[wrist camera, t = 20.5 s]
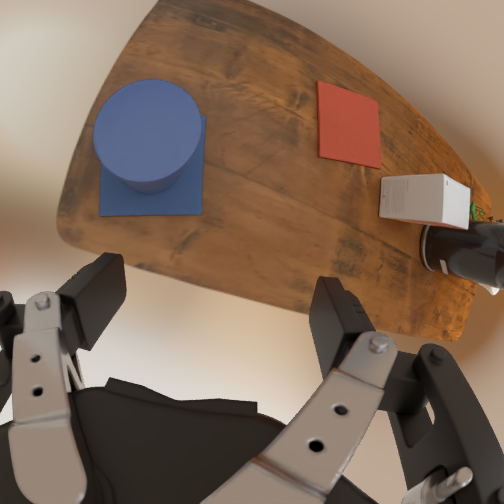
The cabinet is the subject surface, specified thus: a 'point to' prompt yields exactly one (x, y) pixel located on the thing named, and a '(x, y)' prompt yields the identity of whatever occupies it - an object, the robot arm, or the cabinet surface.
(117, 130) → the blue can
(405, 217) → the small box
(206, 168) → the cabinet surface
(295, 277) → the cabinet surface
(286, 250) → the cabinet surface
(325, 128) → the terracotta mat
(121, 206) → the blue mat
